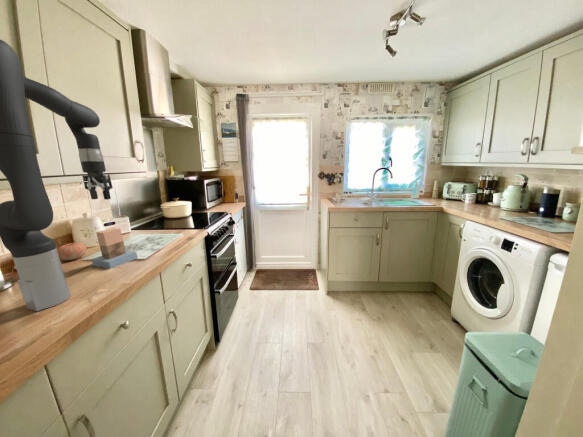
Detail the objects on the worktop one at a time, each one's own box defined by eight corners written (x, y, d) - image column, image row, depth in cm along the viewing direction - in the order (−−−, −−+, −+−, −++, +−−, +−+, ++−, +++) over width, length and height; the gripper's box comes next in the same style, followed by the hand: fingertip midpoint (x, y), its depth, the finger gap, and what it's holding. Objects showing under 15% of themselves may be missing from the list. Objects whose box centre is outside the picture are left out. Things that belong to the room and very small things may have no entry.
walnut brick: (109, 259, 101) (106, 246, 100) (102, 257, 103) (99, 245, 101) (126, 253, 107) (123, 241, 106) (118, 252, 109) (116, 240, 108)
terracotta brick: (106, 246, 100) (103, 232, 98) (99, 245, 101) (96, 232, 100) (123, 241, 106) (120, 228, 105) (115, 240, 108) (113, 227, 106)
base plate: (110, 268, 98) (109, 262, 97) (92, 265, 102) (91, 259, 102) (137, 257, 109) (136, 251, 108) (120, 255, 113) (119, 249, 113)
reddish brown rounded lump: (52, 262, 109) (48, 246, 107) (79, 253, 119) (75, 239, 117) (68, 264, 105) (63, 247, 104) (93, 255, 116) (89, 240, 114)
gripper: (71, 161, 95) (80, 200, 98) (92, 159, 90) (102, 200, 93) (91, 161, 101) (100, 197, 105) (113, 159, 96) (121, 198, 100)
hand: (101, 199), depth 99 cm, fingers open, 8 cm apart
